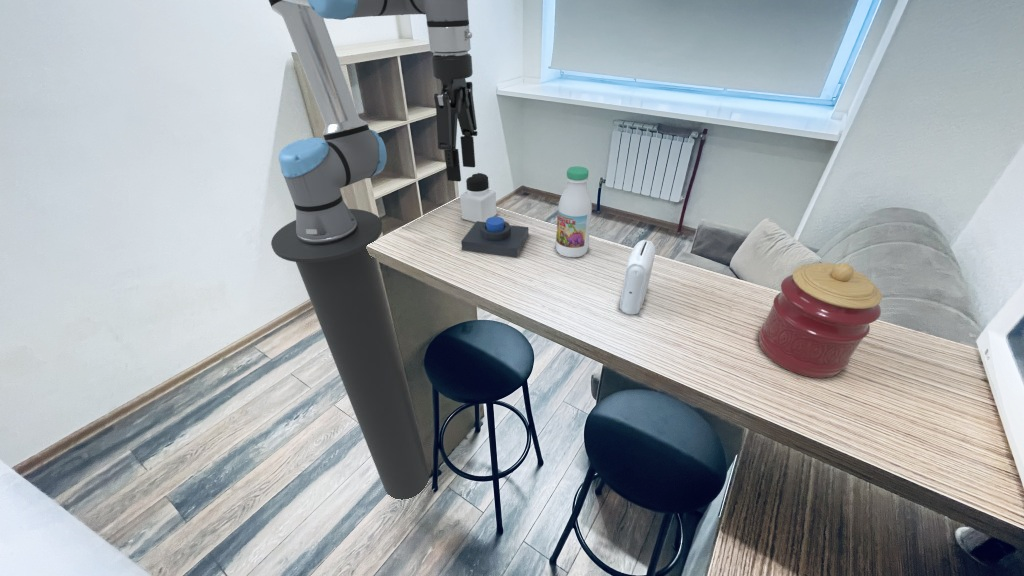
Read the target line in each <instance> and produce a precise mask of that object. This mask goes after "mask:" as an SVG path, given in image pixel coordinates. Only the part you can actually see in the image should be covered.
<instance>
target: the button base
mask: <svg viewBox="0 0 1024 576" xmlns="http://www.w3.org/2000/svg"><path fill="white" fill-rule="evenodd" d="M528 237H529V227H528V226H522V225H521V226H520V225H513V224H510V223H509V222H508V221H506V220H504V230H501V231H497V232H492V231H488V230H487V229H486V222H480V221H477V222H474V224H473V225H472V226H471V228H470V229H469V230H468V232H466V234H465V235H464V237H463V238H462V240H461V250H462V251H465V252H466V251H468V252H473V253H482V254H488V255H495V256H496V255H497V256H504V257H510V258H518V256H519V254H520V253H521V251H522V249H523V247H524V245H525V244H526V241H527V239H528Z"/></svg>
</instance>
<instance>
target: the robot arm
mask: <svg viewBox="0 0 1024 576" xmlns="http://www.w3.org/2000/svg"><path fill="white" fill-rule="evenodd" d="M468 1H469V0H268V2H269V5H270V7H271V9H272V11H273V12H274V13H276V14H278V16H281V17H282V19H283V21H284V24H285V27H286V29H287V32H288V34H289V36H290V39H291V42H292V44H293V46H294V49H295V52H296V54H297V57H298V60H299V62H300V64H301V67H302V69H303V72H304V75H305V77H306V79H307V81H308V84H309V87H310V89H311V92H312V94H313V97H314V100H315V102H316V104H317V107H318V109H319V112H320V115H321V117H322V120H323V122H324V125H325V128H324V130H323V132H322V136H323V138H321V137H308V138H302V139H298V140H296V141H293V142H291V143H289V144H287V145H285V146H284V147H282V148H281V150H280V152H279V153H278V162H279V165H280V171H281V174H282V176H283V178H284V180H285V183H286V186H287V188H288V192H289V194H290V197H291V200H292V203H293V205H294V208H295V220H296V233H297V236H298V239H299V240H300V241H301V242H302V243H305V244H309V245H326V244H331V243H335V242H339V241H341V240H344V239H346V238H348V237H350V236H351V235H352V234H354V233H355V232H356V230H357V228H358V226H357V222H356V219H355V217H354V216H353V214H352V213H351V211H350V210H349V209H350V208H349V207H348V206H347V204H346V202H345V201H344V198H343V195H342V191H341V189H342V188H345V187H348V186H351V185H353V184H355V183H357V182H360V181H363V180H366V179H371V178H373V177H374V176H376V175H378V174H380V173H381V172H383V170H384V169H385V167H386V166H385V165H387V160H388V159H387V156H388V155H387V149H386V145H385V142H384V139H382V137H381V136H380V135H379V133H378V132H377V131H376V130H374V129H370V127H369V124H368V122H367V121H366V120H363V119H362V118H360V116H359V113H358V111H357V107H356V105H355V102H354V100H353V97H352V94H351V91H350V89H349V86H348V83H347V80H346V77H345V75H344V71H343V69H342V66H341V63H340V60H339V58H338V55H337V52H336V49H335V47H334V44H333V40H332V38H331V35H330V33H329V30H328V27H327V23H326V21H325V19H329V20H338V21H339V20H340V21H341V20H342V21H343V20H346V19H353V18H354V19H355V18H368V17H387V16H405V15H407V16H409V15H425V18H426V28H427V37H428V46H429V51H430V53H433V55H431V57H430V61H431V69H432V70H431V71H432V76H433V77H434V78H435V79H437V80H440V93H437V92H436V93H435V92H434V94H433V100H434V105H435V115H436V134H437V135H436V136H437V148H438V150H441V151H443V152H444V160H445V167H446V168H445V169H446V177H447V181H450V182H461V181H462V175H461V165H460V154H459V148H457V137H458V136H457V134H458V124H459V128H460V131H461V134H462V135H461V136H460V148H461V159H462V167H464V168H476V156H475V154H476V153H475V142H474V137H477V136H478V131H477V130H478V124H477V119H476V118H477V116H476V110H475V103H474V102H475V101H474V95H473V93H474V92H473V90H474V89H473V82H472V81H467V80H466V79H469V78H471V77H472V76H473V74H474V73H473V58H472V55H471V54H470V53H469V51H470V50H471V48H472V47H471V46H472V45H471V39H472V38H473V33H472V32H471V31H470V19H469V2H468Z"/></svg>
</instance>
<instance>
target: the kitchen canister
mask: <svg viewBox="0 0 1024 576" xmlns="http://www.w3.org/2000/svg"><path fill="white" fill-rule="evenodd" d="M780 290H781V292H779V293H778V294H776V295H775V297H774V299H773V302H772V303H773V304H772V306H771V309H770V310H769V313H768V314H767V317H766V319H765V321H764V322H763V323H762V325H761V328H760V329H759V336H758V343H759V346H760V348H761V350H762V351H763V353H765V355H766V356H767V357H768V358H769V359H770V360H771V361H773V362H774V363H776V364H777V365H779V366H781V367H782V368H783V369H786V370H787V371H790V372H793V373H795V374H797V375H802V376H804V377H805V376H806V377H810V378H820V379H822V378H831V377H835V376H836V375H838V374H839V373H840V372H841V371H842V370H844V369H845V368H846V367H847V366H848V364H849V363H850V361H851V359H852V356H853V355H854V353H855V351H856V350H857V349H858V347H859V346H860V344H861V343H862V341H863V339H864V338H866V337H867V336H868V335H869V334H870V331H871V330H870V329H871V327H870V325H871V324H872V323H874V322H876V321H877V320H879V318H880V317H881V314H882V310H881V309H882V308H881V306H880V303H881V302H882V300H883V294H882V292H881V290H880V289H879V287H877V285H876V284H875V283H874V282H872V280H871V279H870V278H869V277H868V276H866V275H865V274H863V273H862V272H860V271H857V270H855V269H854V267H853V266H852V265H851V264H849V263H846V262H841V263H830V262H817V263H807V264H803V265H799V266H797V267H796V268H795V269H794V270H793V272H792V274H791V275H788V276H786V277H784V279H783V280H782V281H781V283H780Z"/></svg>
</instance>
